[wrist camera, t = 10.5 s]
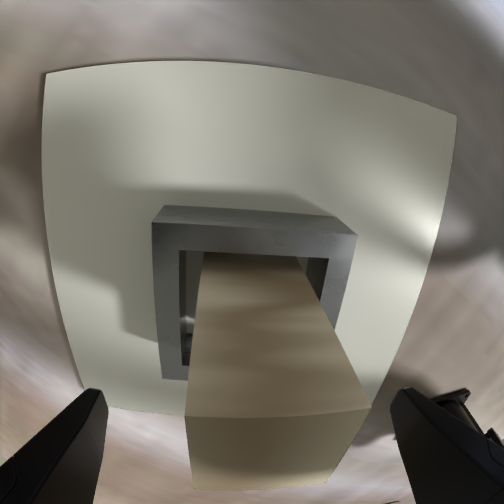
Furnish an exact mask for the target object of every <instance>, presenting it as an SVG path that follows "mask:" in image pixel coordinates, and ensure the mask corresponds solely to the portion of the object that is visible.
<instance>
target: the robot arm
mask: <svg viewBox="0 0 504 504" xmlns="http://www.w3.org/2000/svg"><path fill="white" fill-rule="evenodd" d="M470 394H471V393H470V391H469V390H465V391H462V392H458V393H455V394H452V395H448V396H444V397H441V398H437V399H433V400H430V399H428V398H427V397H426V396H424V395H423V394H421V393H420V392H418V391H417V390H415V389H414V388H412V387H406V388H401V389H400V390H399V391H398V392H397V394H396V396H395V398H394V399H393V401H392V403H391V405H390V413H391V417H392V421H393V426H394V430H395V434H396V439H397V443H398V447H399V451H400V454H401V457H402V460H403V463H404V466H405V469H406V472H407V475H408V479H409V482H410V485H411V488H412V492H413V495H414V498H415V502H416V504H504V443H503V442H502V440H501V439H500V437H499V436H498V434H497V433H496V432H495V431H494V429H493V428H490V429H489V430H488V431H487V433H486V434H484V433H483V431H482V430H481V428H480V427H479V425H478V424H477V422H476V421H475V419H474V418H473V416H472V415H471V413H470V412H469V410H468V409H467V408H466V406H465V405H464V403H465V401H466V400H467V398H468V397H469V395H470ZM107 420H108V406H107V403H106V400H105V397H104V394H103V392H102V390H100V389H95V388H88V389H86V390H85V391H84V392H83V393H82V394H80V395H79V396H78V397H77V398H76V399H75V400H74V401H73V402H72V403H70V404H69V405H68V406H67V407H66V408H65V409H64V410H63V411H62V412H60V413H59V414H58V415H57V416H56V417H55V418H54V419H53V420H52V421H50V422H49V423H48V424H47V425H46V426H45V427H44V428H43V429H42V430H40V431H39V432H38V433H37V434H36V435H35V436H34V437H33V438H32V439H30V440H29V441H28V442H27V443H26V444H25V445H24V446H23V447H22V448H21V449H19V450H18V451H17V452H16V453H15V454H14V455H13V456H12V457H10V458H9V459H8V460H7V461H6V462H5V463H4V464H3V465H1V466H0V504H93V500H94V495H95V490H96V485H97V481H98V476H99V472H100V467H101V463H102V458H103V452H104V443H105V435H106V427H107Z"/></svg>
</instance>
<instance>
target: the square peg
mask: <svg viewBox="0 0 504 504" xmlns="http://www.w3.org/2000/svg"><path fill="white" fill-rule="evenodd" d="M371 408H372V407H371V404H370V402H369V400H368V398H367V396H366V394H365V392H364V390H363V388H362V386H361V383H360V381H359V379H358V377H357V375H356V373H355V371H354V369H353V367H352V365H351V363H350V361H349V359H348V357H347V355H346V353H345V351H344V349H343V347H342V345H341V343H340V341H339V339H338V337H337V335H336V333H335V331H334V329H333V327H332V325H331V323H330V321H329V319H328V317H327V315H326V313H325V311H324V309H323V307H322V305H321V303H320V301H319V299H318V298H317V296H316V294H315V292H314V290H313V288H312V286H311V284H310V282H309V280H308V278H307V276H306V275H305V273H304V271H303V269H302V267H301V265H300V263H299V261H298V260H297V258H296V256H278V255H260V254H242V253H223V252H205V251H204V256H203V263H202V270H201V277H200V284H199V291H198V299H197V306H196V314H195V322H194V330H193V339H192V347H191V356H190V365H189V375H188V385H187V395H186V406H185V424H186V433H187V441H188V450H189V457H190V465H191V472H192V479H193V485H194V489H199V490H261V489H277V488H288V487H298V486H306V485H314V484H320V483H326V482H327V480H328V479H329V477H330V476H331V475H332V473H333V472H334V470H335V469H336V467H337V466H338V464H339V463H340V461H341V459H342V458H343V456H344V455H345V453H346V452H347V450H348V448H349V447H350V445H351V443H352V442H353V440H354V438H355V437H356V435H357V433H358V432H359V430H360V428H361V426H362V425H363V423H364V421H365V419H366V417H367V416H368V414H369V412H370V410H371Z"/></svg>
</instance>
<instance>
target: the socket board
mask: <svg viewBox="0 0 504 504" xmlns="http://www.w3.org/2000/svg"><path fill="white" fill-rule="evenodd" d="M456 126H457V116H456V115H453V114H451V113H449V112H446V111H444V110H441V109H438V108H436V107H433V106H430V105H428V104H425V103H422V102H419V101H417V100H414V99H411V98H408V97H405V96H401V95H398V94H395V93H392V92H389V91H385V90H382V89H378V88H375V87H371V86H367V85H364V84H360V83H356V82H352V81H347V80H343V79H339V78H334V77H329V76H325V75H319V74H314V73H309V72H303V71H297V70H291V69H284V68H277V67H269V66H261V65H251V64H241V63H227V62H209V61H149V62H131V63H118V64H108V65H99V66H91V67H83V68H76V69H70V70H64V71H59V72H53V73H48V74H46V82H45V91H44V103H43V118H42V185H43V201H44V213H45V223H46V232H47V240H48V247H49V254H50V260H51V266H52V272H53V277H54V282H55V287H56V292H57V297H58V301H59V306H60V310H61V314H62V318H63V322H64V326H65V330H66V333H67V337H68V340H69V344H70V347H71V351H72V354H73V357H74V360H75V363H76V366H77V369H78V372H79V375H80V378H81V381H82V384H83V387H84V389H85V390H86V389H88V388H95V389H100V390H102V392H103V394H104V397H105V400H106V403H107V406H109V407H115V408H121V409H127V410H135V411H142V412H150V413H159V414H170V415H182V416H185V406H186V395H187V385H188V381H183V380H170V379H162V374H161V366H160V357H159V348H158V338H157V327H156V315H155V302H154V286H153V265H152V228H151V222H152V221H153V219H154V218H155V217H156V215H157V214H158V213H159V211H160V210H161V209H162V207H163V206H164V205H177V206H198V207H216V208H232V209H248V210H262V211H275V212H288V213H300V214H311V215H322V216H333V217H337V218H338V219H340V220H341V221H342V222H343V223H344V224H345V225H347V226H348V227H349V228H350V229H351V230H352V231H353V232H355V233H356V234H357V235H358V237H357V242H356V247H355V251H354V256H353V260H352V264H351V269H350V273H349V277H348V281H347V285H346V289H345V293H344V297H343V301H342V305H341V309H340V312H339V316H338V320H337V323H336V327H335V330H334V331H335V333H336V335H337V337H338V339H339V341H340V343H341V345H342V347H343V349H344V351H345V353H346V355H347V357H348V359H349V361H350V363H351V365H352V367H353V369H354V371H355V373H356V375H357V377H358V379H359V381H360V383H361V386H362V388H363V390H364V392H365V394H366V396H367V398H368V400H369V402H370V404H371V405H372V403H373V401H374V399H375V397H376V395H377V393H378V391H379V389H380V387H381V385H382V383H383V381H384V379H385V377H386V374H387V372H388V370H389V368H390V366H391V364H392V361H393V359H394V357H395V355H396V352H397V350H398V348H399V345H400V343H401V341H402V338H403V336H404V333H405V331H406V328H407V326H408V323H409V320H410V318H411V315H412V312H413V310H414V307H415V304H416V301H417V299H418V296H419V293H420V290H421V287H422V284H423V281H424V278H425V275H426V271H427V268H428V265H429V261H430V258H431V255H432V251H433V247H434V244H435V240H436V236H437V232H438V228H439V224H440V220H441V216H442V212H443V207H444V202H445V198H446V193H447V187H448V182H449V177H450V171H451V165H452V158H453V151H454V144H455V135H456ZM203 256H204V251H187V250H186V331H187V333H193V330H194V322H195V314H196V306H197V299H198V291H199V284H200V277H201V270H202V263H203ZM296 258H297V260H298V261H299V263H300V265H301V267H302V269H303V271H304V273H305V275H306V270H307V264H308V259H309V257H297V256H296Z"/></svg>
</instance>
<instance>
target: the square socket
mask: <svg viewBox="0 0 504 504" xmlns="http://www.w3.org/2000/svg"><path fill="white" fill-rule="evenodd" d="M151 228H152V265H153V286H154V302H155V315H156V327H157V338H158V348H159V357H160V366H161V374H162V379H170V380H183V381H188V375H189V365H190V356H191V347H192V339H193V333H187V331H186V250H187V251H205V252H223V253H242V254H260V255H278V256H297V257H309V259H308V264H307V270H306V276H307V278H308V280H309V282H310V284H311V286H312V288H313V290H314V292H315V294H316V296H317V298H318V299H319V301H320V303H321V305H322V307H323V309H324V311H325V313H326V315H327V317H328V319H329V321H330V323H331V325H332V327H333V329H334V330H335V327H336V323H337V320H338V316H339V312H340V309H341V305H342V301H343V297H344V293H345V289H346V285H347V281H348V277H349V273H350V269H351V264H352V260H353V256H354V251H355V247H356V242H357V237H358V235H357V234H356V233H355V232H353V231H352V230H351V229H350V228H349V227H348V226H347V225H345V224H344V223H343V222H342V221H341V220H340V219H338V218H337V217H333V216H322V215H311V214H300V213H288V212H275V211H262V210H248V209H232V208H216V207H198V206H177V205H164V206H163V207H162V209H161V210H160V211H159V213H158V214H157V215H156V217H155V218H154V219H153V221H152V222H151Z"/></svg>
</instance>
